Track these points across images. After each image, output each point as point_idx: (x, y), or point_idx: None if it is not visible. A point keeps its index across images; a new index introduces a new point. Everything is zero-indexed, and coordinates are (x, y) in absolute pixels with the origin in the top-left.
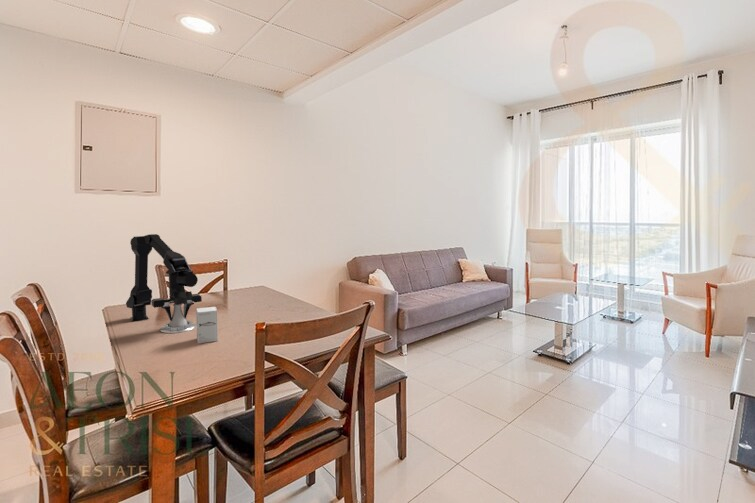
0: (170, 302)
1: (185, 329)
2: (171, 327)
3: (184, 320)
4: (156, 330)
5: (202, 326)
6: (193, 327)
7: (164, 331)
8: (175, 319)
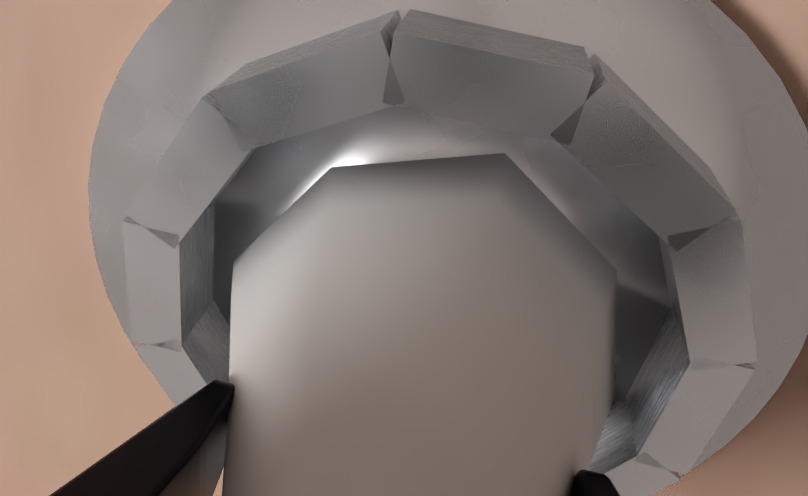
0: None
1: (393, 9)
2: (705, 208)
3: (275, 319)
4: (771, 456)
5: None
6: (179, 28)
7: (803, 251)
8: (523, 414)
